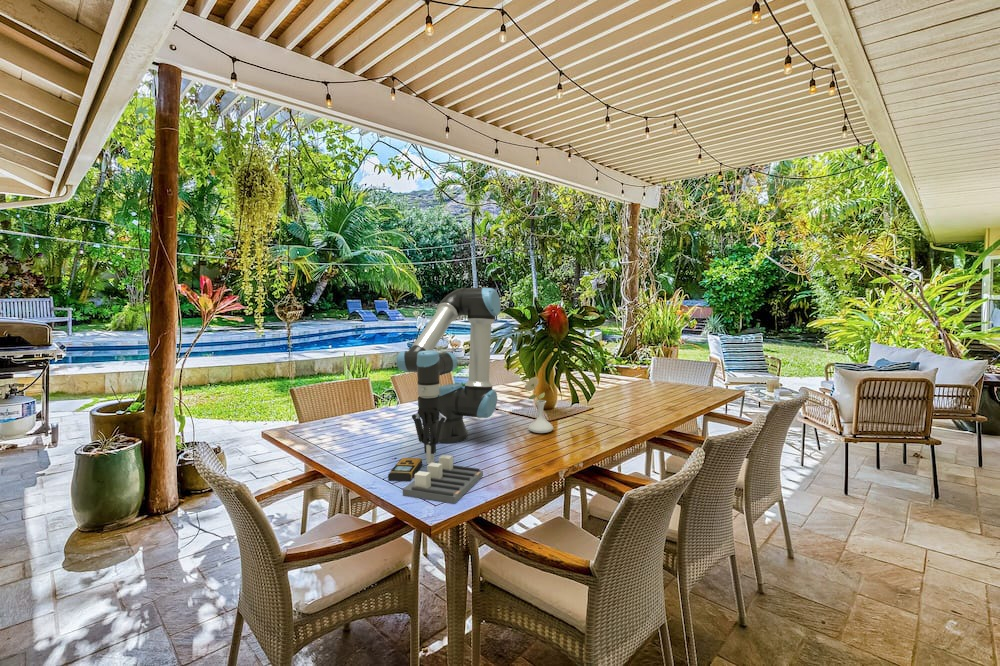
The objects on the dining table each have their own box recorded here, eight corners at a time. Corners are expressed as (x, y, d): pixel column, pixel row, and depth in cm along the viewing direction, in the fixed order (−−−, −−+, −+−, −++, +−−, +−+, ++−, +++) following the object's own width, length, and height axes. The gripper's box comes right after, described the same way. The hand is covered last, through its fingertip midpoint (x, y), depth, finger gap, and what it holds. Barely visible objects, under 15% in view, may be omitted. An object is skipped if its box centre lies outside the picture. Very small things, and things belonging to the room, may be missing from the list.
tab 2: (431, 475, 160) (431, 462, 160) (442, 477, 159) (442, 463, 158) (427, 478, 157) (427, 465, 157) (438, 480, 156) (437, 467, 155)
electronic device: (423, 466, 176) (423, 457, 176) (411, 482, 161) (411, 473, 160) (401, 465, 177) (401, 456, 177) (387, 482, 162) (386, 472, 161)
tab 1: (419, 484, 153) (419, 471, 152) (430, 486, 151) (430, 472, 151) (414, 488, 150) (414, 474, 149) (426, 490, 148) (425, 476, 148)
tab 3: (442, 467, 168) (442, 454, 167) (453, 468, 166) (452, 455, 166) (438, 470, 165) (438, 457, 164) (449, 471, 163) (449, 458, 163)
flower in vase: (547, 426, 222) (547, 373, 220) (557, 433, 212) (557, 377, 209) (520, 429, 218) (520, 375, 216) (530, 436, 207) (529, 379, 205)
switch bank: (436, 470, 170) (435, 462, 170) (482, 476, 164) (482, 468, 164) (402, 495, 150) (402, 486, 150) (454, 503, 144) (454, 494, 143)
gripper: (406, 396, 164) (408, 463, 166) (440, 399, 159) (442, 468, 161) (417, 392, 171) (419, 456, 173) (450, 394, 166) (452, 460, 168)
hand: (430, 462), depth 167 cm, fingers closed
